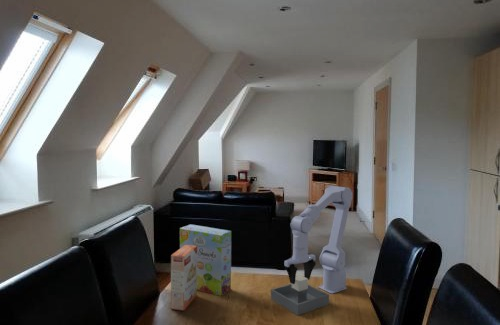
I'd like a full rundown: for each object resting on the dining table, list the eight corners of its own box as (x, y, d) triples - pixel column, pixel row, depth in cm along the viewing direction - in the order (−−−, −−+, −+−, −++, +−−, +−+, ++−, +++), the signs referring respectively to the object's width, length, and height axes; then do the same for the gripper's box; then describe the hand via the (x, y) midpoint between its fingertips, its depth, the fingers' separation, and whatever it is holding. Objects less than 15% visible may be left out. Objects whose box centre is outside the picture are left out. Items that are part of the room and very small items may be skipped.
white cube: (300, 284, 149) (300, 275, 149) (307, 288, 146) (308, 278, 145) (291, 287, 147) (291, 277, 147) (299, 291, 143) (299, 281, 143)
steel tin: (298, 296, 150) (299, 284, 150) (306, 300, 146) (306, 288, 146) (290, 299, 148) (290, 286, 147) (297, 303, 144) (298, 290, 144)
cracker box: (185, 311, 138) (185, 256, 136) (170, 309, 139) (169, 255, 137) (198, 295, 151) (198, 245, 150) (184, 294, 153) (183, 244, 151)
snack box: (178, 286, 160) (178, 227, 158) (190, 279, 168) (190, 223, 166) (221, 297, 150) (221, 234, 148) (232, 289, 158) (232, 229, 156)
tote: (301, 290, 158) (301, 281, 157) (328, 304, 145) (329, 294, 144) (270, 299, 149) (271, 289, 149) (297, 315, 136) (297, 304, 135)
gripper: (307, 241, 152) (306, 274, 153) (279, 247, 144) (278, 281, 145) (319, 246, 147) (318, 279, 148) (291, 252, 139) (290, 287, 140)
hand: (299, 281), depth 146 cm, fingers open, 7 cm apart
